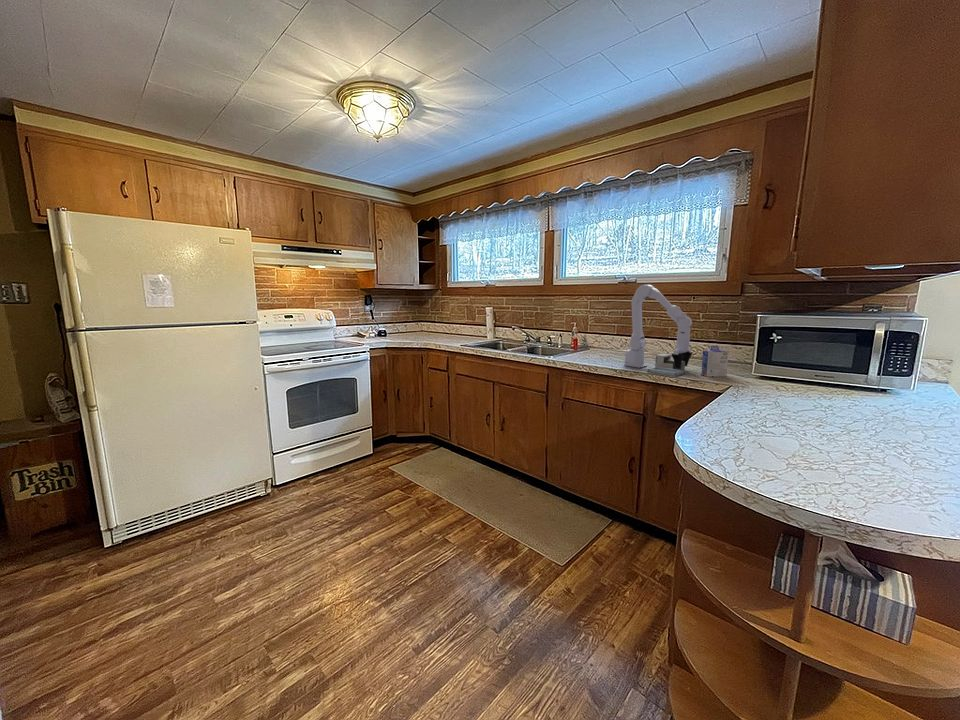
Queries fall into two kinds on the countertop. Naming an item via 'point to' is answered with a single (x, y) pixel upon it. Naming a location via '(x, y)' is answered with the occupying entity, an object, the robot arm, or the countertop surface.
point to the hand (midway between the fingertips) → (681, 366)
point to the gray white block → (674, 364)
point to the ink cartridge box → (714, 362)
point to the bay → (660, 361)
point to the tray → (665, 371)
